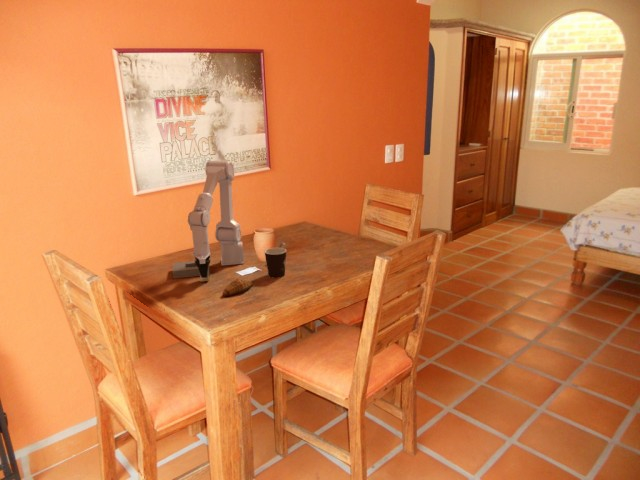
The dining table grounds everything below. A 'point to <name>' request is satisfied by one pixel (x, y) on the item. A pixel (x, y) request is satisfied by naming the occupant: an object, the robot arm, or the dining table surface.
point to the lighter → (282, 245)
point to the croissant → (237, 287)
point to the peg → (204, 278)
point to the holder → (186, 269)
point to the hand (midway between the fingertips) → (204, 275)
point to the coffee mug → (276, 261)
